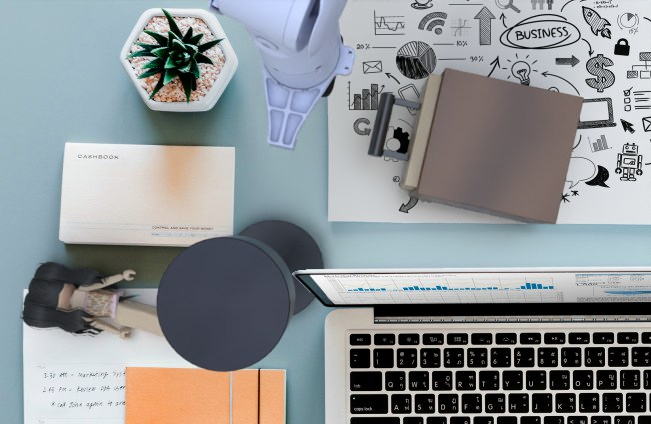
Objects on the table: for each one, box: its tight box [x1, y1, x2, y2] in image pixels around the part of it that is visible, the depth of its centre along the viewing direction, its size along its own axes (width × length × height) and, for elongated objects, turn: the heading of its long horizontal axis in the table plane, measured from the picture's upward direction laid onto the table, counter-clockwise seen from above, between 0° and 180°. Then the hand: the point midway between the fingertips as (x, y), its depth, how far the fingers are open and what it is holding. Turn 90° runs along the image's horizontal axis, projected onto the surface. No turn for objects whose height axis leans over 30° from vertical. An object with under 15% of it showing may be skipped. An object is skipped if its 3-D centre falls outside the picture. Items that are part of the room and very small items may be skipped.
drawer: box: [367, 73, 442, 191], centre depth 62 cm, size 15×10×6 cm
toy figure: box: [19, 261, 165, 340], centre depth 64 cm, size 7×6×15 cm
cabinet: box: [408, 67, 585, 225], centre depth 61 cm, size 13×12×8 cm
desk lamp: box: [155, 219, 325, 373], centre depth 52 cm, size 10×10×28 cm
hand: (308, 77), depth 57 cm, fingers closed
